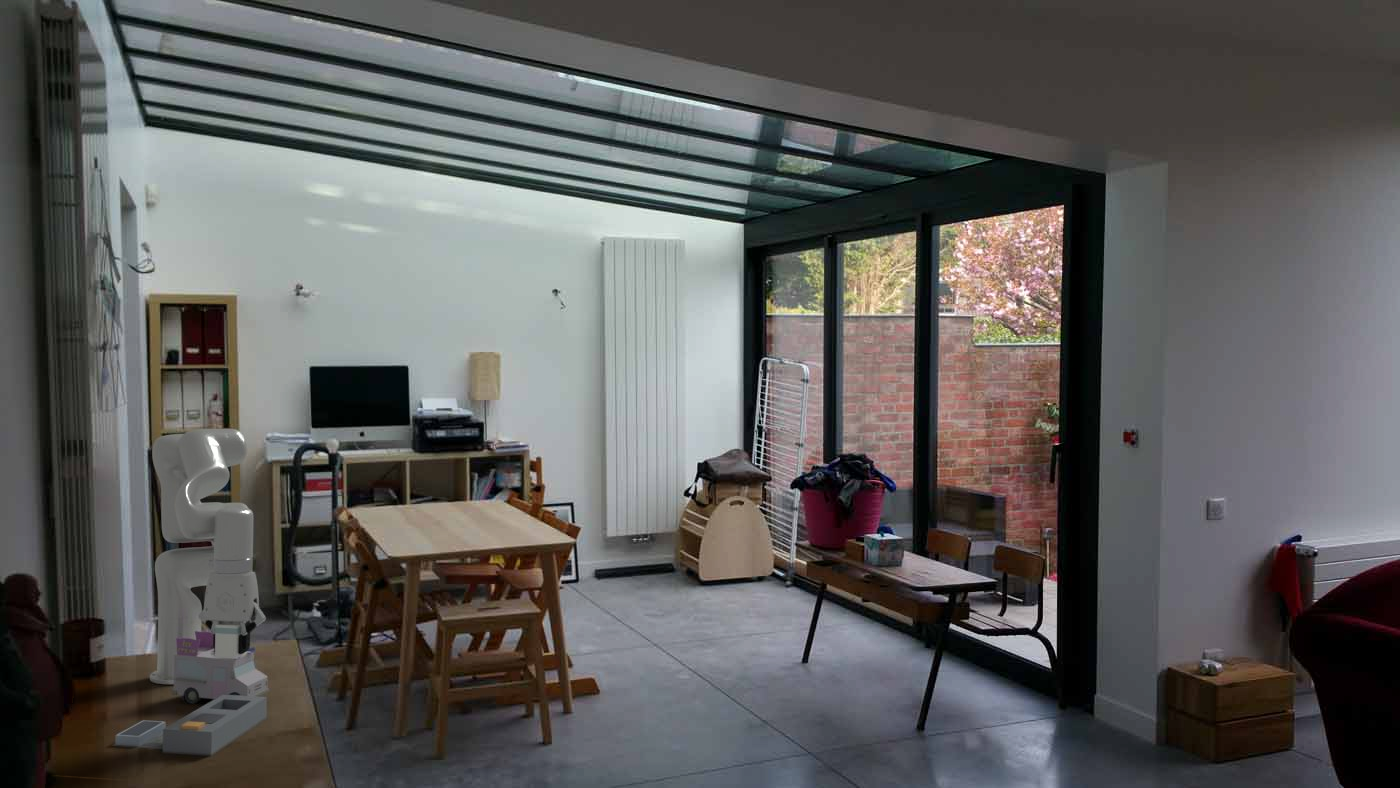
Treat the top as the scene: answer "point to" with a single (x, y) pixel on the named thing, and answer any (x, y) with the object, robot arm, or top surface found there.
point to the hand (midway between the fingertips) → (231, 650)
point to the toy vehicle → (214, 671)
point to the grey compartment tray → (214, 725)
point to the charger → (227, 640)
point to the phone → (140, 733)
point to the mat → (150, 743)
